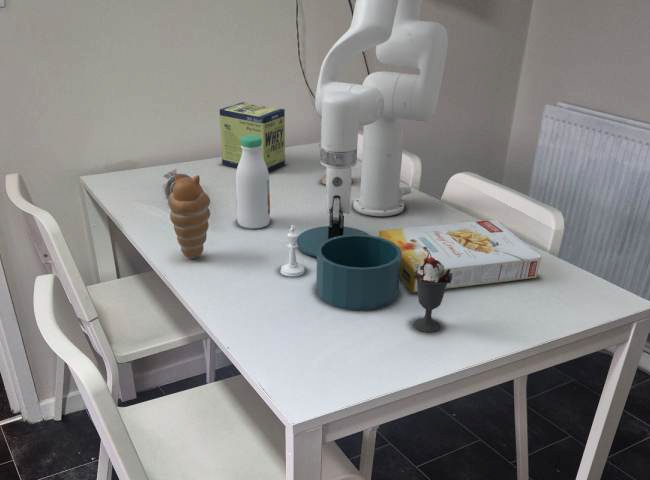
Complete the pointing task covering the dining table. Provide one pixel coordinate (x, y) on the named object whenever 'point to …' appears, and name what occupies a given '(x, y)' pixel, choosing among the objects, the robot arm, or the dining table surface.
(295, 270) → the chess piece
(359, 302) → the tin
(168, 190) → the spaceship
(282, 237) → the dining table surface
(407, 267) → the cereal box
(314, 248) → the tin lid
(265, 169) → the milk bottle
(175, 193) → the cat ice cream
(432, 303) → the sundae
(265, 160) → the protein box
